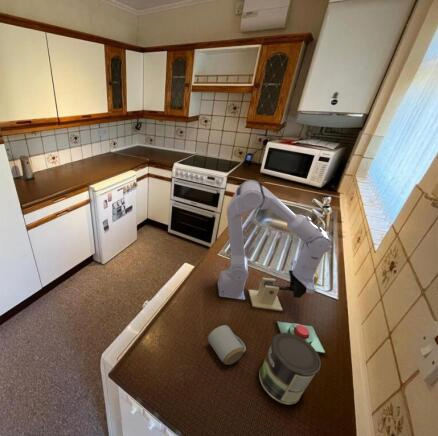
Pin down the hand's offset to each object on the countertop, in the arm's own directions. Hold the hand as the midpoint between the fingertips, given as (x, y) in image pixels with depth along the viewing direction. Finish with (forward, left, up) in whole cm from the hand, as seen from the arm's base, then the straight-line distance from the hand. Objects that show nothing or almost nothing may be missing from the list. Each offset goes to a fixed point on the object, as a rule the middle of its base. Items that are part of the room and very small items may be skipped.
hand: (294, 293), depth 85 cm
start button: (-2, -14, -3) cm, 15 cm away
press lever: (-4, 0, 0) cm, 4 cm away
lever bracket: (-9, 0, -6) cm, 11 cm away
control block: (-2, -14, -6) cm, 15 cm away
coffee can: (-12, -29, -6) cm, 32 cm away
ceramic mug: (-25, -22, -6) cm, 34 cm away
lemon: (+10, +12, -6) cm, 17 cm away
